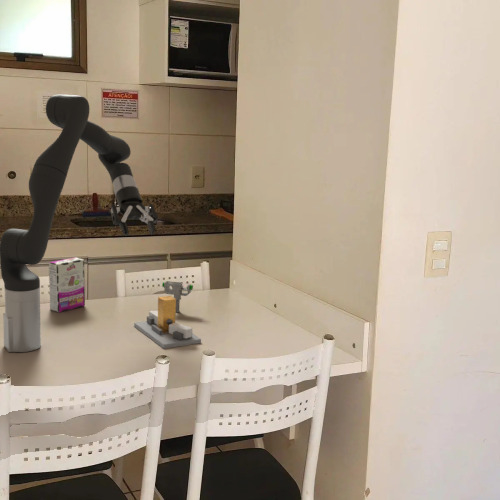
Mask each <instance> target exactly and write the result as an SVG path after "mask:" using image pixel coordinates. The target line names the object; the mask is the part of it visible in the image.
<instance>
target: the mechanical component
mask: <svg viewBox="0 0 500 500" xmlns="http://www.w3.org/2000/svg"><path fill="white" fill-rule="evenodd" d="M161 287H163V288H164V293H165V294H167V295H170V296H172V295H173V298H175V299H176V313H179V312H180V300H182V296H184V297H187V296H188V295H189V294H190V293H191V292H192V291H193V289H194V285H193V284H189V283H188V284H187V286H186V287H184V285H183V282H179V281H169V280H166V281H165V282H164V281H163V282H162V284H161Z"/></svg>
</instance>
